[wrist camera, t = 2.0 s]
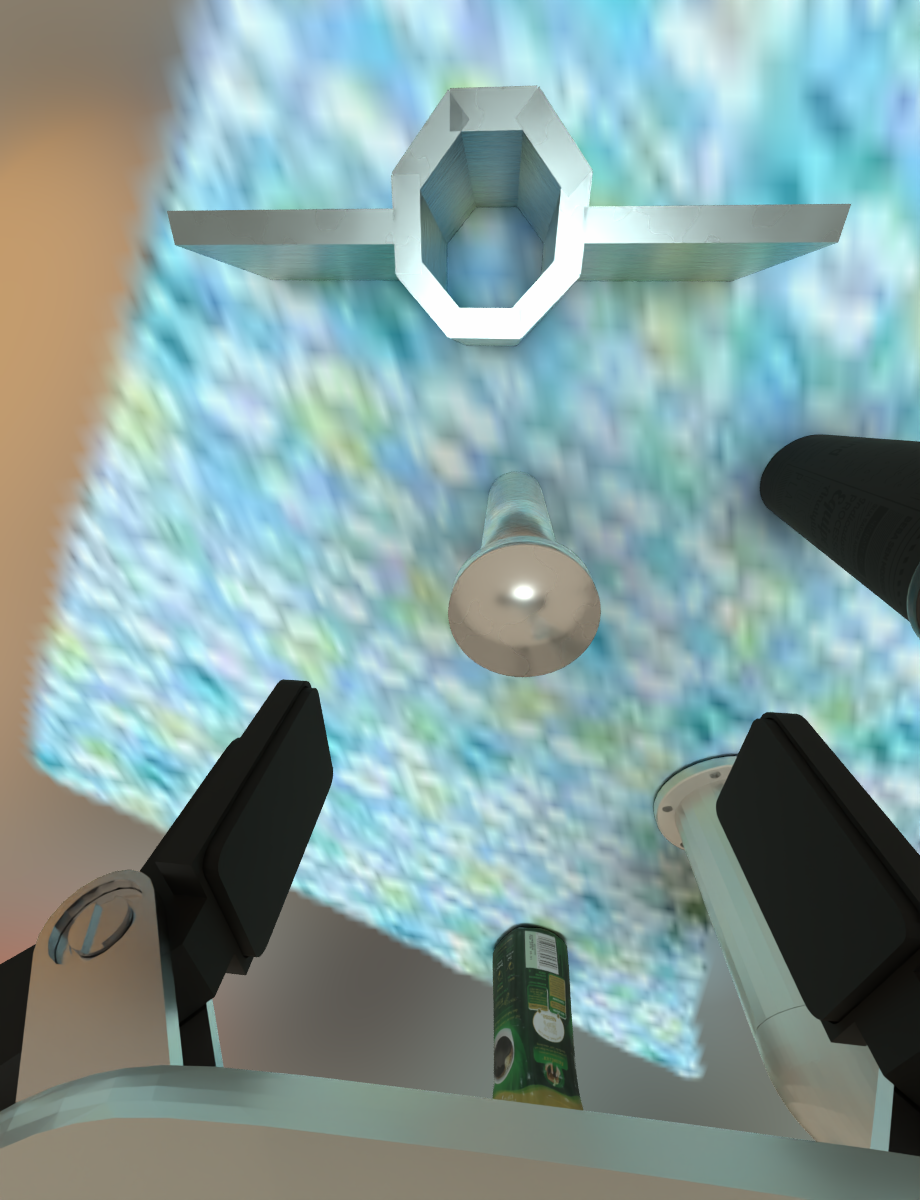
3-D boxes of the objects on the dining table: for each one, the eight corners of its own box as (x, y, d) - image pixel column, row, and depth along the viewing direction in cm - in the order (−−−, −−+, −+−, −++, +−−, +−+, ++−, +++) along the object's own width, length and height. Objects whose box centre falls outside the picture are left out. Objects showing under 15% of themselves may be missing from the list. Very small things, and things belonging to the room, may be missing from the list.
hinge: (759, 175, 20) (894, 74, 13) (714, 348, 23) (804, 342, 16) (257, 183, 22) (140, 98, 15) (282, 342, 25) (196, 334, 18)
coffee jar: (540, 967, 57) (553, 1207, 41) (485, 950, 56) (476, 1188, 40) (577, 936, 53) (609, 1191, 36) (518, 916, 52) (523, 1169, 36)
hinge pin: (561, 458, 27) (613, 550, 14) (551, 538, 29) (587, 681, 16) (476, 456, 27) (448, 542, 14) (474, 535, 30) (448, 671, 16)
